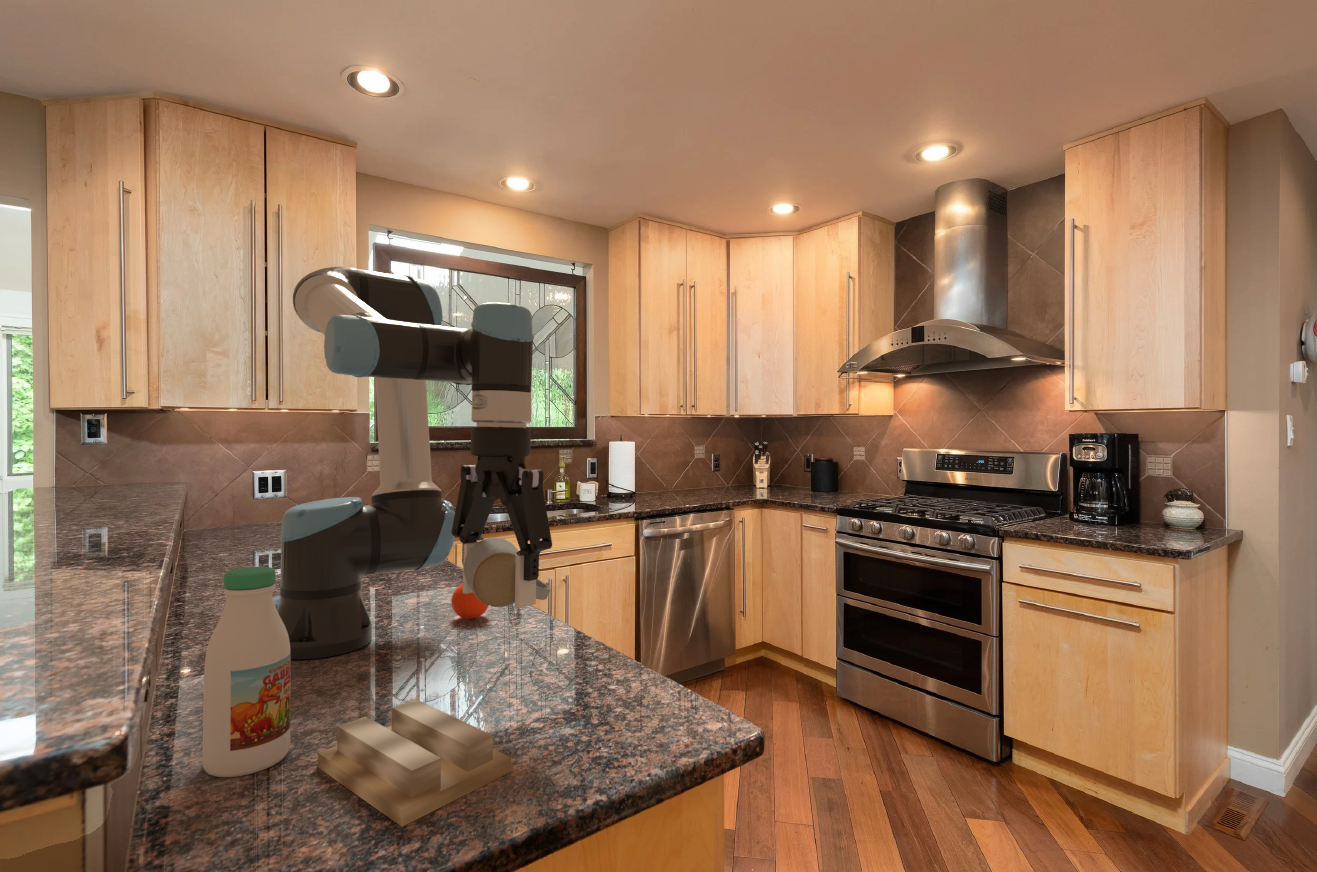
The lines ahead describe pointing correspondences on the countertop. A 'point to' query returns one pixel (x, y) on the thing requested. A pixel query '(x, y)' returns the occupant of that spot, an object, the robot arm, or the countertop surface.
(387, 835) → the countertop surface
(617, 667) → the countertop surface
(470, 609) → the clementine
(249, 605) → the milk bottle
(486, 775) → the wooden block with ridges
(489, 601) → the speckled stoneware cup
